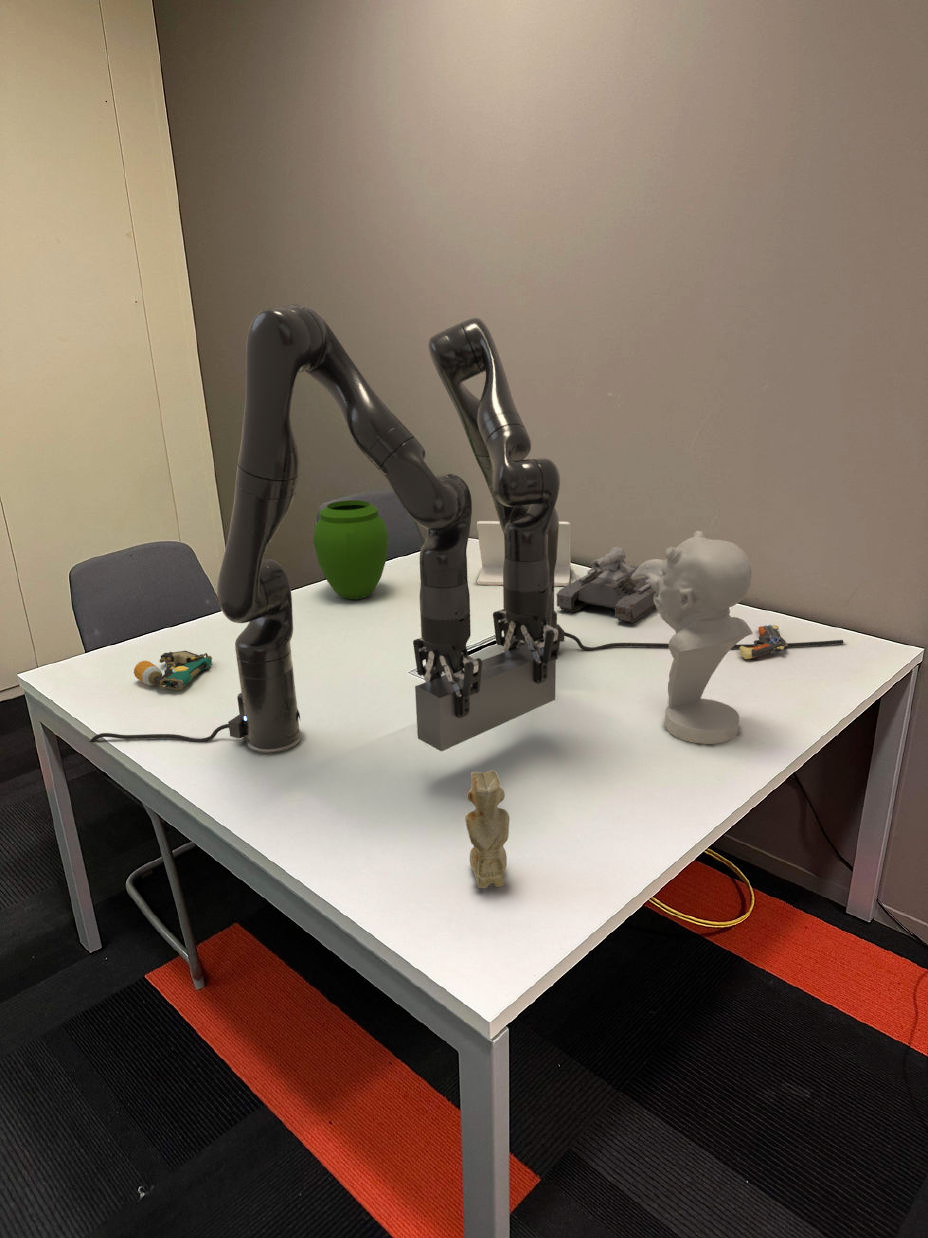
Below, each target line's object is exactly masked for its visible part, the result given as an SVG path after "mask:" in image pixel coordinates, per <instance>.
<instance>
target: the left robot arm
mask: <svg viewBox="0 0 928 1238" xmlns="http://www.w3.org/2000/svg"><path fill="white" fill-rule="evenodd" d="M245 345H246V346H245V348H246V349H245V395H244V396H245V397H244V401H245V402H244V410H243V419H242V429H241V440H240V446H239V447H240V448H239V453H238V457H237V458H238V459H237V467H236V474H235V475H236V477H235V483H234V496H233V504H232V510H231V517H230V523H229V531H228V536H227V541H226V544H225V545H226V546H225V549H224V552H223V553H224V554H223V557H222V561H221V565H220V568H219V569H220V570H219V574H218V579H217V586H216V587H217V589H216V590H217V592H216V594H217V601H218V605H219V608H220V610H221V612H222V614H223V615H224V616H225V617H226V618H227V619H228V620H229V621H230V622H232V623H234V624H246V623H248V624H247V625H246V627H245V628H244V629H243V631H242V632H241V633H240V634H239V635H238V636H237V638H236V639H235V643H234V649H235V657H236V663H237V671H238V678H239V686H240V692H239V693H238V694H237V697H236V698H237V699H236V700H237V705H238V715H236V716H234V717H233V718H232V719H230V720H229V721H228V722H227V723H225V724H222V725H220V726H218V727H216V728H214V730H213V732H212V733H211V734H210V735H209V736H207V737H201V738H194V737H189V736H185V735H181V734H175V733H174V734H173V733H150V734H147V733H146V734H145V733H144V734H119V733H111V732H101V733H98V734H95V735H94V736H93V737H92V738H91V739H90V740H89V741H88V742H89V743H94V742H96V741H97V740H99V739H101V738H114V739H121V740H138V739H139V740H140V739H142V740H143V739H176V740H182V741H186V742H189V743H191V742H192V743H207V742H209V741H212V740H213V739H215V737H216V736H217V734H218V733H219V732H221V731H222V730H225V729H228V731H229V736H230V737H231V738H236V739H240V740H241V739H242V743H243V744H244V745H247V747H248V748H249V749H250V750H251V751H254V752H256V753H263V754H272V753H273V754H275V753H280V752H284V751H287V750H290V749H291V748H294V747H295V746H297V744H298V743H300V741H301V738H302V733H301V730H300V722H301V714H300V711H299V709H298V702H297V693H296V692H297V691H296V684H295V683H296V682H295V674H294V666H293V656H292V645H291V642H292V639H293V636H294V635H293V634H294V617H293V598H292V589H291V588H292V587H291V584H290V583H291V582H290V579H289V577H288V574H287V572H286V570H285V569H284V568H283V566H282V565H281V564H280V563H279V562H278V561H276V560H275V559H272V558H267V557H265V555H266V552H267V550H268V547H269V545H270V543H271V542H272V540H273V539H274V537H275V536H276V534H277V532H278V531H279V530H280V528H281V526H282V525H283V523H284V522H285V520H286V518H287V516H288V514H289V513H290V510H291V509H292V506H293V505H294V501H295V497H296V494H297V489H298V488H297V486H298V482H299V481H298V480H299V475H300V468H301V467H300V466H301V456H300V455H301V454H300V450H299V446H298V443H297V440H296V436H295V433H294V430H293V427H292V421H291V407H292V406H291V405H292V398H293V393H294V388H295V383H296V380H297V376H298V374H300V373H303V372H305V373H306V374H308V375H309V376H310V377H311V378H313V379H314V380H315V381H316V382H318V384H319V385H320V386H321V387H323V388H324V390H325V391H327V393H328V394H329V396H330V398H332V400H333V402H334V403H335V405H336V407H337V409H338V411H339V413H340V415H341V418H342V420H343V422H344V425H345V428H346V430H347V432H348V434H349V435H350V438H351V440H352V441H353V442H354V444H355V445H356V447H357V448H358V449H359V450H360V452H361V453H363V455H364V456H365V457H366V458H367V459H368V460H369V461H370V463H372V464H373V466H374V467H375V468H376V469H377V470H378V471H379V472H380V473H381V474H382V475H383V476H384V477H385V478H386V479H387V481H388V483H389V484H390V487H391V489H392V491H393V492H394V494H395V496H396V497H397V499H398V501H399V502H400V504H401V505H402V507H403V508H404V510H405V512H406V513H407V514H408V515H409V517H410V518H411V520H413V521H414V522H415V523H416V524H418V525H419V526H421V527H422V528H424V529H426V530H427V531H426V532H427V533H426V538H425V541H424V542H423V544H422V546H421V548H420V551H419V576H420V577H419V578H420V587H419V610H420V611H419V614H420V634H421V635H420V636H421V637H419V638H416V639H414V640H413V641H412V644H413V645H412V646H413V653H414V658H415V665H416V672H417V674H418V676H420V677H421V676H423V678H424V682H428V681H430V680H433V679H436V678H438V677H441V676H443V674H444V675H446V676H447V679H448V682H449V683H451V684H452V686H453V689H454V692H455V695H456V696H455V716H456V717H458V718H462V717H465V716H467V715H468V713H469V712H470V700H469V696H471V695H473V694H476V693H479V692H480V682H481V672H482V660H483V659H482V658H480V657H478V658H477V657H476V658H473V657H471V656H470V655H469V651H468V648H467V643H468V641H469V639H470V638H471V634H472V633H471V631H472V629H471V603H470V602H471V598H470V597H471V596H470V589H469V583H468V582H469V581H468V556H467V550H468V549H467V548H468V542H469V539H470V538H469V537H470V531H471V524H472V523H471V522H472V515H473V502H472V501H473V500H472V495H471V491H470V488H469V486H468V484H467V483H466V481H465V480H464V479H463V478H461V477H460V476H458V475H457V474H454V473H442V474H439V475H437V476H436V475H435V474H434V473H433V471H432V469H430V467H429V466H428V464H427V463H426V462H425V459H426V450H425V448H424V447H423V445H422V444H421V442H420V441H419V440H418V439H417V438H416V437H415V436H414V434H413V433H412V432H411V431H410V430H409V429H408V428H407V427H406V426H405V424H403V422H402V421H400V419H399V418H398V417H397V416H396V415H395V414H394V413H393V412H392V411H391V409H390V408H389V407H388V406H387V405H386V404H385V402H384V401H383V400H382V399H381V398H380V397H379V395H378V394H377V392H376V391H375V390H374V389H373V388H372V386H371V385H370V383H369V382H368V381H367V379H366V377H365V376H364V375H363V374H362V371H360V370H359V368H358V367H357V365H356V364H355V362H354V361H353V359H352V358H351V356H350V355H349V354H348V352H347V351H346V349H345V348H344V346H343V344H342V343H341V342H340V340H339V338H338V337H337V335H336V334H335V332H334V331H333V329H332V328H331V327H330V325H329V324H328V322H327V320H325V319H324V318H323V316H322V315H321V314H320V313H319V312H318V311H317V310H315V309H314V308H313V307H312V306H309V305H306V304H299V303H296V304H295V303H294V304H287V305H280V306H279V305H278V306H274V307H269V308H265V309H262V310H261V311H259V312H258V313H257V314H256V315H255V316H254V317H253V319H252V320H251V323H250V324H249V327H248V331H247V335H246V344H245ZM424 661H425V665H424ZM460 670H461V674H460V675H458V676H454V673H457V672H459V671H460ZM460 680H462V683H463V687H462V688H460V684H459V681H460ZM472 683H473V685H472V686H471V684H472ZM299 721H300V722H299Z"/></svg>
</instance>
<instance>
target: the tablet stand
mask: <svg viewBox="0 0 928 1238" xmlns="http://www.w3.org/2000/svg"><path fill="white" fill-rule="evenodd" d="M476 531H477V537H478V544H479V551H480V557H481V558H480V559H481V570H480V573H479V575H478V577H477V580H476V581H477V582H476V584H478V585H484V586H485V585H486V586H487V585H489V586H490V585H491V586H503V566H504V556H505V555H504V533H503V531H502V528H501V525H500V522H499V520H477V522H476ZM571 560H572V558H571V522H569V521H559V533H558V547H557V562H556V566H555V571H554V587H556V586H557V587H566V586H567V585H569V584H570V580H571V579H570V578H571V565H572V564H571Z"/></svg>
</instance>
